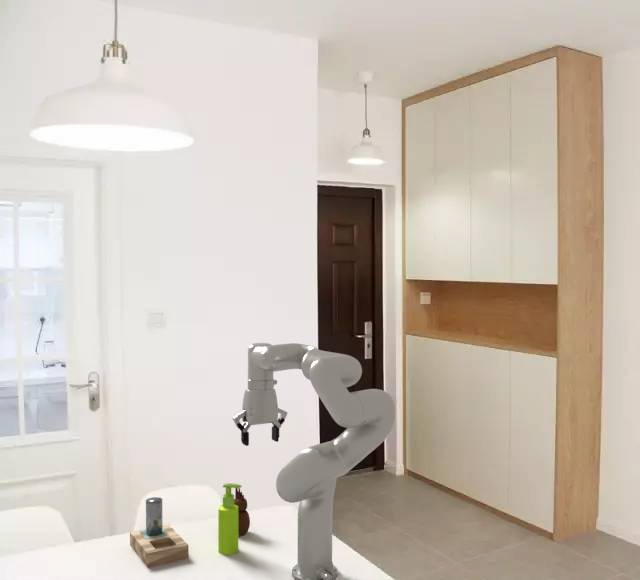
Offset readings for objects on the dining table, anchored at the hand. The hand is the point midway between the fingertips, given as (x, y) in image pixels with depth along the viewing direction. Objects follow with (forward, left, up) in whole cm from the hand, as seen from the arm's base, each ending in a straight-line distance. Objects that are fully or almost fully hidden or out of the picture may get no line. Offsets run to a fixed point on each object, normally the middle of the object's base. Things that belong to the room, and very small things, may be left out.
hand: (260, 442), depth 204 cm
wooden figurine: (+15, 0, -32) cm, 36 cm away
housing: (+14, +27, -32) cm, 44 cm away
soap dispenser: (+4, +8, -32) cm, 34 cm away
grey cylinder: (+18, +26, -28) cm, 43 cm away
